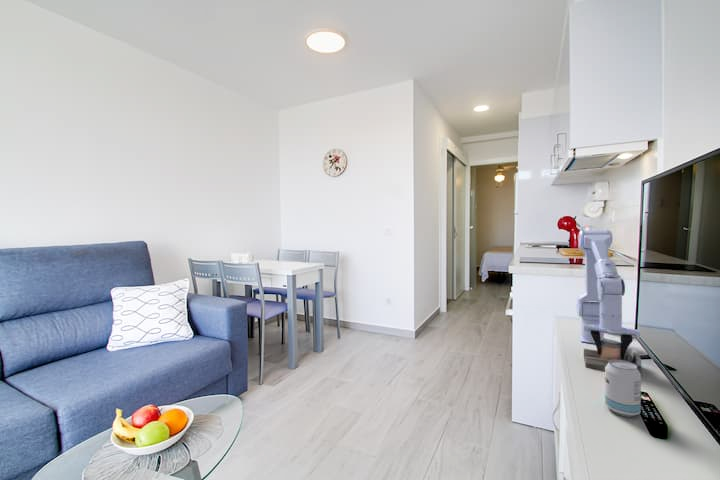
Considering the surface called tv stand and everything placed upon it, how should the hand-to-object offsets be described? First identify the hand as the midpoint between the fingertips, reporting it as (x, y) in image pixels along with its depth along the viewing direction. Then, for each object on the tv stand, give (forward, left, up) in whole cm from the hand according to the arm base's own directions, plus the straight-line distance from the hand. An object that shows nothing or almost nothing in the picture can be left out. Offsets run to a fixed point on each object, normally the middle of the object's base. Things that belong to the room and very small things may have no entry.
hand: (610, 355), depth 106 cm
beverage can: (+30, -1, -4) cm, 30 cm away
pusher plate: (0, +4, -2) cm, 5 cm away
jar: (0, 0, -2) cm, 2 cm away
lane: (0, 0, -3) cm, 3 cm away
